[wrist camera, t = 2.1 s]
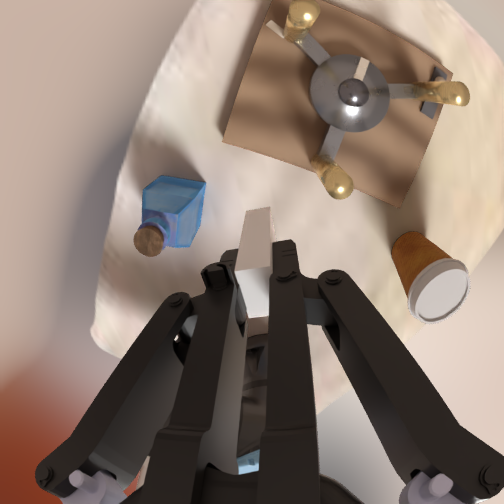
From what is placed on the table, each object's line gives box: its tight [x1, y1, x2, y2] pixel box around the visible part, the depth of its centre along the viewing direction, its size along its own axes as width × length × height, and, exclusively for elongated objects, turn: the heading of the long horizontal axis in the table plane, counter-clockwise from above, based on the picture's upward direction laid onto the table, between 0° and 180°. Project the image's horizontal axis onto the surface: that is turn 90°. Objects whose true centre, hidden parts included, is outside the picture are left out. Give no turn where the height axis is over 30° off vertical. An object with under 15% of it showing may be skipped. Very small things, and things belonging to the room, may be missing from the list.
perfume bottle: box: [134, 175, 206, 257], centre depth 32 cm, size 6×6×12 cm
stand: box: [222, 0, 453, 208], centre depth 27 cm, size 21×24×4 cm
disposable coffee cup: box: [392, 231, 470, 324], centre depth 33 cm, size 10×10×12 cm
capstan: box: [283, 0, 470, 199], centre depth 23 cm, size 16×18×10 cm
